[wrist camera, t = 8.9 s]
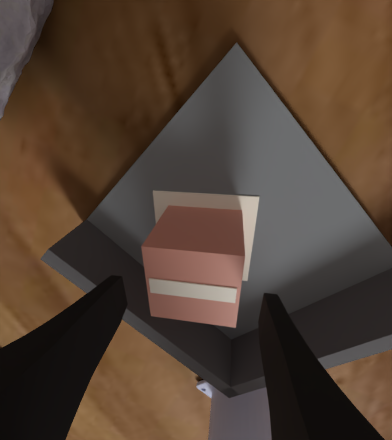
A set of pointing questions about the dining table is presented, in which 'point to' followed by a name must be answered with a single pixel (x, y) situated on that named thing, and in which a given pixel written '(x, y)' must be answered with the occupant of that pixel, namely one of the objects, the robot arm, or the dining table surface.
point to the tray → (253, 232)
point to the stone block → (18, 39)
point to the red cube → (195, 265)
